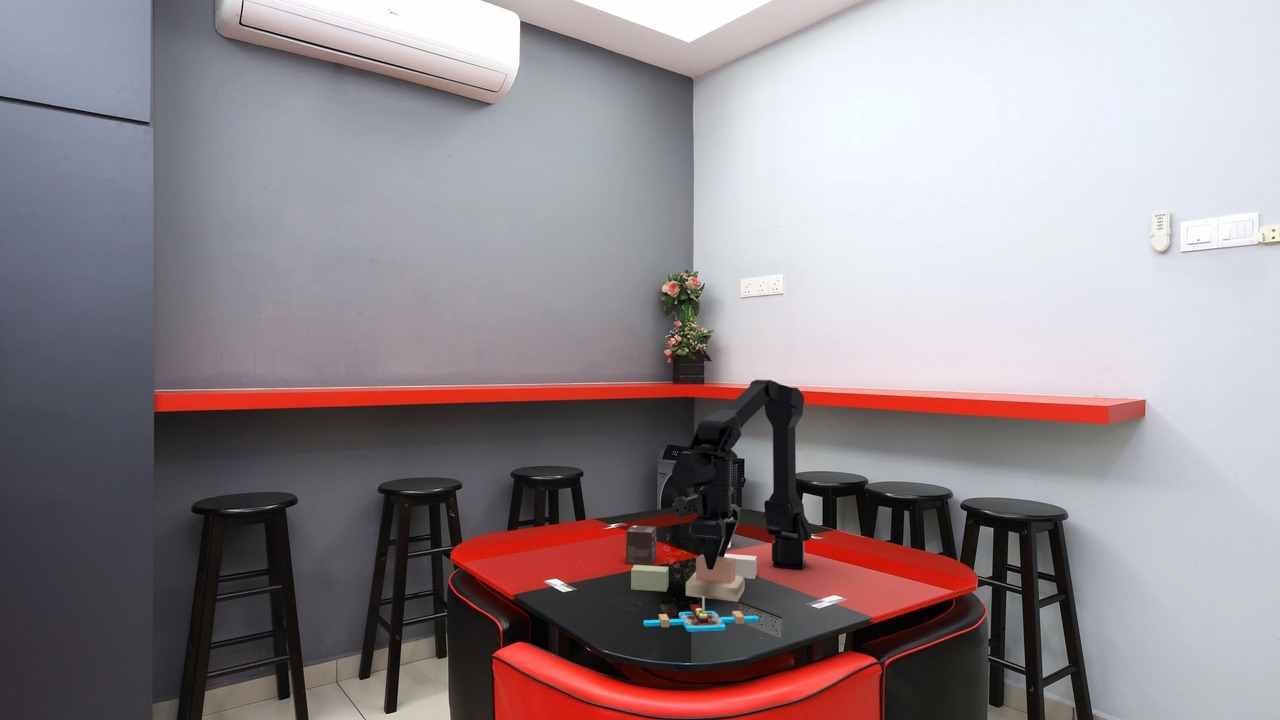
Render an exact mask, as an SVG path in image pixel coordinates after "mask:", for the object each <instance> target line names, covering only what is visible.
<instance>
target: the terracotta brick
mask: <svg viewBox="0 0 1280 720" xmlns="http://www.w3.org/2000/svg"><path fill="white" fill-rule="evenodd" d="M695 560H696V561H695V572H696V579H697V580H705V581H713V582H721V583H729V584H731V583H732V582H733V581H734V580H735V570H736V558H727V557H718V558H717V560H716V563H715V566H714V569H713V570H709V569H707V566H706V562H705V558H704V554H700V555H699V556H698V557H696V558H695Z"/></svg>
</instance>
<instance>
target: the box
mask: <svg viewBox="0 0 1280 720" xmlns="http://www.w3.org/2000/svg"><path fill="white" fill-rule="evenodd" d="M625 532H626V533H625V535H626V537H625V563H626V564H633V565H646V566H652V565H653V564H654V562H655V561H656V559H657V527H656V526H646V525H645V526H644V525H643V526H642V525H631V526H630V527H628V529H627V530H626V531H625Z"/></svg>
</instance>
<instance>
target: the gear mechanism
mask: <svg viewBox="0 0 1280 720" xmlns="http://www.w3.org/2000/svg"><path fill="white" fill-rule="evenodd" d="M701 599H702V600H701V606H700V604H698V603H697V604H689V609H690V611H683V612H682V611H681V612H678V618H675V619H674V618H671V619H670V618H669V616H668V615H667V613H662V614H661V613H659V614H658V619H651V620H650V619H646V620H645V619H644V620H643V626H644V627H661V628H662V629H663V628H670V626H683V627H684V628H685V630H686V631H687V632H689V633H692V632H693V633H694V632H714V631H715V632H716V631H718V632H719V631H720V632H721V631H726V625H725V624H730V623H733V624H736V625H744V624H745V623H755V622H757V623H758V622H760V619H759V617H758V616H757V615H744V614H742V612H741V611H740V610H732V611H731V616H721V617H720V615H718V613H717V612H716V611H713V610H705V607H706V606H705V604H706V603H705V599H706V598H705V597H704V596H703V597H702V598H701Z"/></svg>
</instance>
